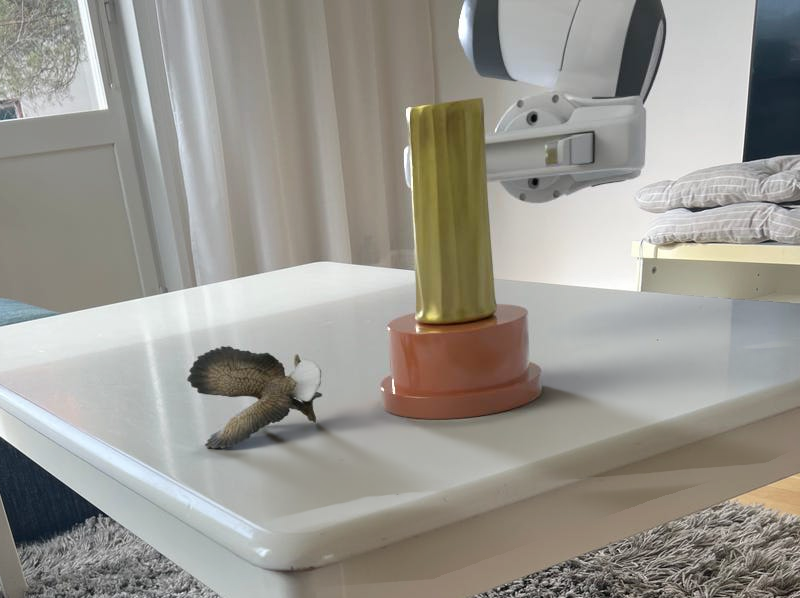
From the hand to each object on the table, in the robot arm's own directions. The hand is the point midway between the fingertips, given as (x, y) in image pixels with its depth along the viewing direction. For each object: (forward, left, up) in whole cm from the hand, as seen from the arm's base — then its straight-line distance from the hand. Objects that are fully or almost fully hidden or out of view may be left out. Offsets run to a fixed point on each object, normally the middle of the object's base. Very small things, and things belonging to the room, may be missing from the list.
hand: (495, 160), depth 77 cm
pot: (+4, +9, -16) cm, 19 cm away
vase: (+4, +9, -10) cm, 14 cm away
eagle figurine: (+19, +14, -16) cm, 29 cm away
